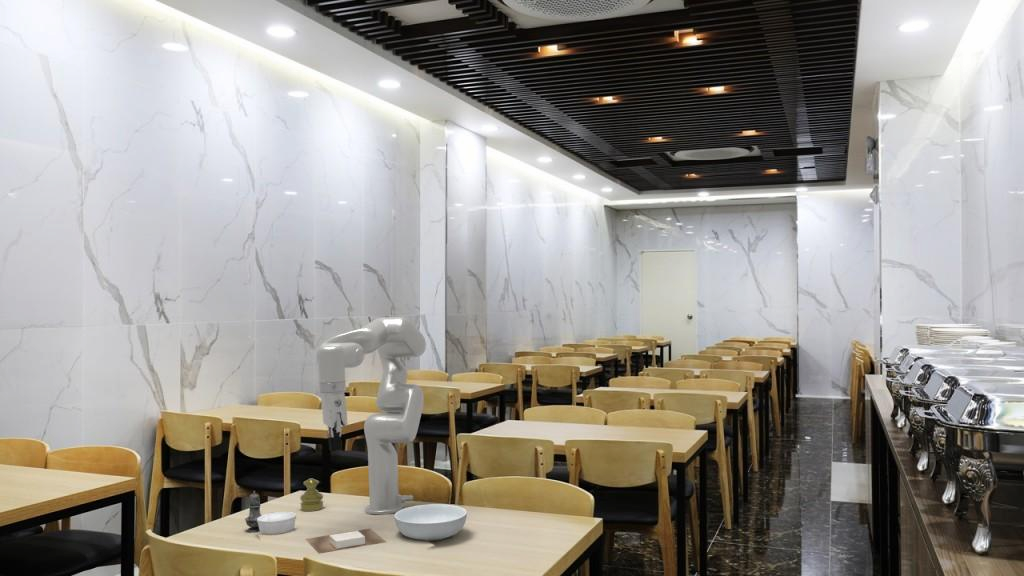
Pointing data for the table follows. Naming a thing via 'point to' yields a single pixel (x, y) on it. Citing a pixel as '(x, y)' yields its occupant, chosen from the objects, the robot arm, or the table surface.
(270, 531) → the ramekin
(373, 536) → the board
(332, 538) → the tile
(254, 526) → the salt shaker
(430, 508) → the serving bowl
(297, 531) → the table surface
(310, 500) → the olive chess piece
